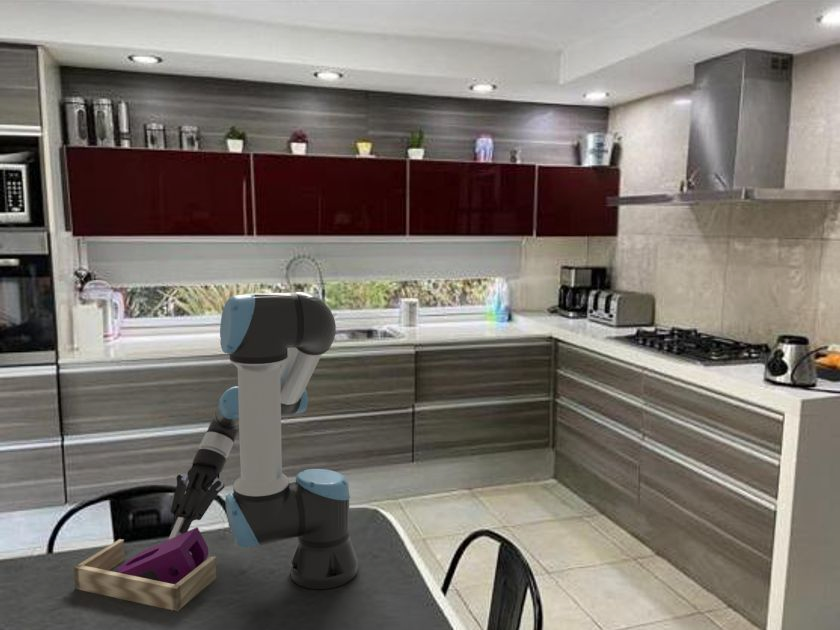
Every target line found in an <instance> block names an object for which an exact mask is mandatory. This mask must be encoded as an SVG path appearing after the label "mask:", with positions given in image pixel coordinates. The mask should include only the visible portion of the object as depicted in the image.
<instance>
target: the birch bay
mask: <svg viewBox="0 0 840 630" xmlns="http://www.w3.org/2000/svg"><path fill="white" fill-rule="evenodd" d="M124 541H125V539H121V538H119V539H117V540H116V541H114V542H112V543H111V544H109V545H108V546H105V548H103V549H101V550H99V551H98V552H96V553H95V554H92V555H91V556H89V557H88V558H87V559H85V560H84V561H81V562H80V563H79V564H77V565H75V566H74V567H73V573H74V574H73V575H74V585H75V590H79V591H84V592H88V593H93V594H97V595H102V596H107V597H111V598H116V599H119V600H125V601H129V602H132V603H138V604H141V605H147V606H151V607H156V608H160V609H164V610H169V609H170V610H169V611H173V610H175V611H174V612H179V610H181V609H182V608H183V607H185V606H186V604H188V603H189V602H190V601H191V600H192V599H194V598H195V597H196V596H197V595H198V594H199V593H201V592H202V591H203V590H204V589H205V588H206V587H207V586H209V585H210V584H211V583H212V582H213V581H215V580H216V579H217V561H216V556H212V555H211V556H209V557H207V559H206V560H205V561H204V562H203V563H202V564H200V565H199V566H198V567H197V568H195V569H194V570H193V571H192V572H190V573H189V574H188V575H187V576H185V577H184V578H183V579H182V580H180V581H179V582H178V583H177V584H170V583H165V582H161V581H160V580H156V579H155V580H154V579H150V578H146V577H141V576H132V575H127V574H122V573H118V572H116V571H111V570H112V569H113V568H114V567H116V566H118V565H119V564H121V563H122V562H124V561H126V555H125V552H126V551H125V542H124Z"/></svg>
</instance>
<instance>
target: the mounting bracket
mask: <svg viewBox="0 0 840 630" xmlns="http://www.w3.org/2000/svg"><path fill="white" fill-rule="evenodd" d="M168 539H169V538H168ZM168 539H167V540H165V541H163V542H160V543H158V544H156V545H154V546H150V547H149V548H147V549H145V550H143V551H141V552H139V553H137V554H136V555H134V556H132V557H131V558H130V559H128V560H126V562H124V563H123V564H122V565H121V566H120V567H118V569H117V573H122V574H127V575H132V576H136V577H139V576H140V575H143V574H144V573H147V572H150V571H153V572H154V573H155V575H156V577H157V579H158V581H161V582H165V583H170V584H177V583H178V582H179V581H180V580H182V579H183V578H184V577H185V576H187V575H188V574H189V573H190V572H192V571H193V570H194V569H195V568H197V567H198V566H199V565H200V564H202V563H203V562H204V561H205V560H207V559H208V558H209V557H208V556H209V547H208V544H207V543H206V541H205V539H204V537H203V535H202V533H201V532H200V529H199V528H198V526H196V527H195V528H194V527H193V528H192V529H190V530H188V531H187V532H185V533H183V534H181V535H178V536H176V537H174V538H171V539H169V540H168Z"/></svg>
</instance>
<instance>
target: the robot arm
mask: <svg viewBox="0 0 840 630" xmlns="http://www.w3.org/2000/svg"><path fill="white" fill-rule="evenodd" d="M219 326H220V327H219V337H220V348H221V351H222V352H223V353H224V354H228V355H229V362H231V363H232V364H233V366H235V367H236V369H237V386H232V387H230V388H228V389H227V390H225V391H224V392H223V394H222V395H221V396H220V398H219V401H218V405H217V407H216V409H215V412H214V414H213V416H212V418H211V421H210V423H209V425H208V428H207V430H206V432H205V434H204V436H203V438H202V440H201V442H200V444H199V449H198V450H197V451H196V453H195V455H194V458H193V460H192V465H191V467H190V469H188V471H187V472H186V473H185V474H183V475H182V474H177V475H176V487H175V491H174V495H173V500H172V503H171V508H170V513H171V514H172V515H174V520H173V523H172V524H171V526H170V531H171V533H170V535H169V536H168V539H167V540H169V539H171V538H174V537H176V536H178V535H181V534H183V533H185V532H187V531H189V529H190V527H191V525H192V522H194V521H201V519H202V518H203V517H204V515H205V514H206V512H207V510H208V509H210V506H211V505H212V503H213V502H214V500H215V499H216V498H217V495H218V494H219V493H220V492H221V491H222V490H223V489H225V484H224V483H223V482H221V481H220V474H221V473H222V471H223V469H224V467H225V465H226V462H227V458H228V457H229V454H230V453H231V451H232V449H233V445H234V443H235V440H236V438H237V436H238V435H239V462H240V463H239V464H240V465H239V466H240V471H239V473H240V474H239V477H238V478H237V479H235V481H234V482H233V485H232V486H233V489H232V490H233V492H230V493H228V494H227V495H225V498H224V499H225V501H224V502H225V504H224V505H225V510H226V515H227V518H228V523H229V528H230V531H231V534H232V537H233V539H234V541H235V544H236V545H237V546H238V547H239V548H241V549H248V548H253V547H259V548H260V547H261V546H263V545H267V544H273V543H277V542H282V541H285V540H289V539H290V540H291V539H294V538H297V543H296V546H295V548H294V553H293V555H292V557H291V558H292V559H291V562H290V577H291V580H292V581H293V582H294V583H295V584H297V585H298V586H300V587H303V588H306V589H310V590H311V589H312V590H328V589H334V588H337V587H339V586H343V585H345V584H347V583H349V582H351V581H352V580H353V579H354V578H355V576H356V575H357V573H358V558H357V555H356V552H355V549H354V546H353V543H352V540H351V538H350V498H351V496H350V490H349V489H350V488H349V481H348V479H347V477H346V476H344V475H343V474H342V473H340V472H337V471H335V470H330V469H324V468H310V469H309V468H308V469H305V470H302V471H299V472H298V473H297V474H296V477H295V481H293V482H290V480H289V479H290V478H289V477H288V476H287V475H286V474H284V473H283V460H282V459H283V458H282V448H283V447H282V417H284V416H285V417H286V416H294V415H296V414H301V413H305V411H306V410H307V408H308V401H309V400H308V392H307V389H306V388H307V386H308V384H309V381H310V379H311V377H312V376H313V374H314V371H315V369H316V367H317V366H318V364H319V361H320V359H321V357H322V355H324V354H325V353H327V352H328V351H329V350H330V348H331V347H332V345H333V343H334V341H335V336H336V332H337V331H336V330H337V325H336V321H335V316H334V315H333V312H332V311H331V308H330V307H329V306H328V305H327V304H326V303H325V302H324V300H322V298H319V297H318V296H316V295H313V294H311V293H309V292H305V291H289V292H263V293H262V292H258V293H252V292H249V293H244V294H237V295H232V296H231V297H228V299H227V300H226V301H225V304H224V306H223V308H222V312H221V317H220V325H219Z"/></svg>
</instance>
